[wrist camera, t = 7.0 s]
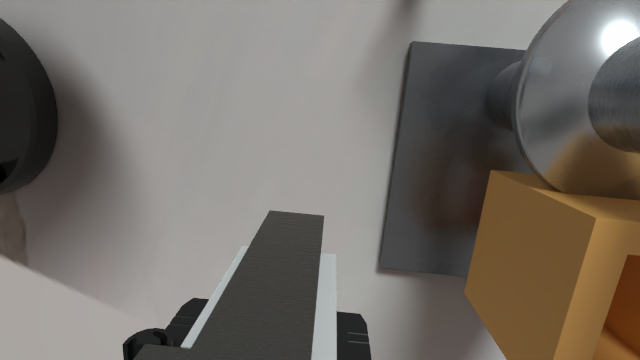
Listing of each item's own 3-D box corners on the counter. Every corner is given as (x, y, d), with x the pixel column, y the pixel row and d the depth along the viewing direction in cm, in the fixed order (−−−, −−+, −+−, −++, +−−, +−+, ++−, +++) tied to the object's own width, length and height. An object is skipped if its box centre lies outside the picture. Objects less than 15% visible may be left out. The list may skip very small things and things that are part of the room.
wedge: (264, 309, 19) (122, 741, 6) (271, 179, 18) (82, 425, 4) (314, 314, 19) (273, 761, 6) (326, 184, 17) (303, 449, 4)
